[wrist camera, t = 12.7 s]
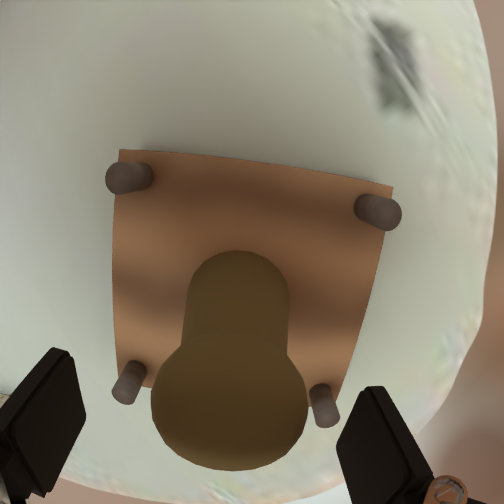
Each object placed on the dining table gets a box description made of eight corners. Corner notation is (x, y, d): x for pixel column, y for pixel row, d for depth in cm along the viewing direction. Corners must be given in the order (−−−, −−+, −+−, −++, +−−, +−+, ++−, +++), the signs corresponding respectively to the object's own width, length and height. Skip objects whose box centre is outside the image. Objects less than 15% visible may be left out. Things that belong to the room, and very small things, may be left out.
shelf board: (136, 151, 19) (96, 146, 13) (374, 184, 20) (417, 191, 14) (131, 359, 23) (105, 406, 17) (326, 383, 24) (342, 434, 18)
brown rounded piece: (289, 340, 19) (320, 486, 9) (194, 344, 19) (153, 487, 9) (288, 247, 18) (340, 354, 7) (181, 252, 18) (100, 359, 7)
